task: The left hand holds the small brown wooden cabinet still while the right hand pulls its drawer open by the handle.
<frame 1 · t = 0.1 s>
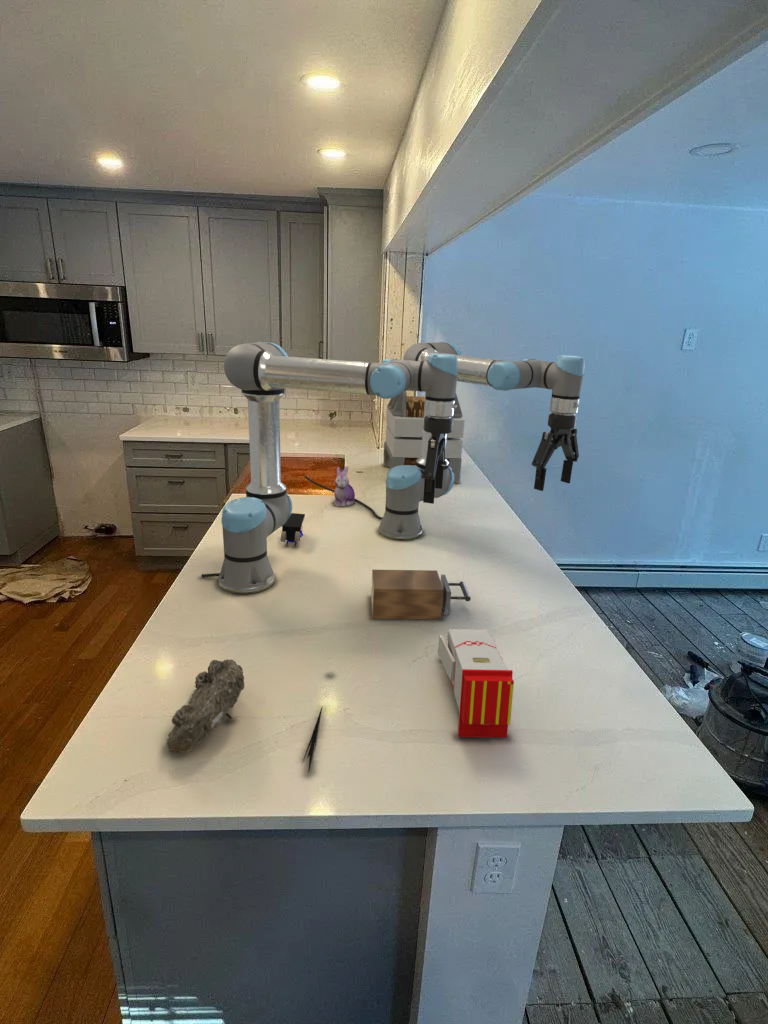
left hand: (433, 495, 152), 28 cm above the counter, tool pointing down, fingers open, 13 cm apart
right hand: (552, 485, 166), 28 cm above the counter, tool pointing down, fingers open, 13 cm apart
drawer: (426, 594, 149), point 4 cm above the counter, slide at 1.0 cm
fossil: (212, 717, 108), on the counter
figurine: (344, 503, 228), on the counter
toy: (469, 691, 119), on the counter
feather: (319, 719, 109), on the counter
cabinet: (404, 608, 151), on the counter
transformer: (419, 473, 275), on the counter
figurine character: (293, 540, 190), on the counter
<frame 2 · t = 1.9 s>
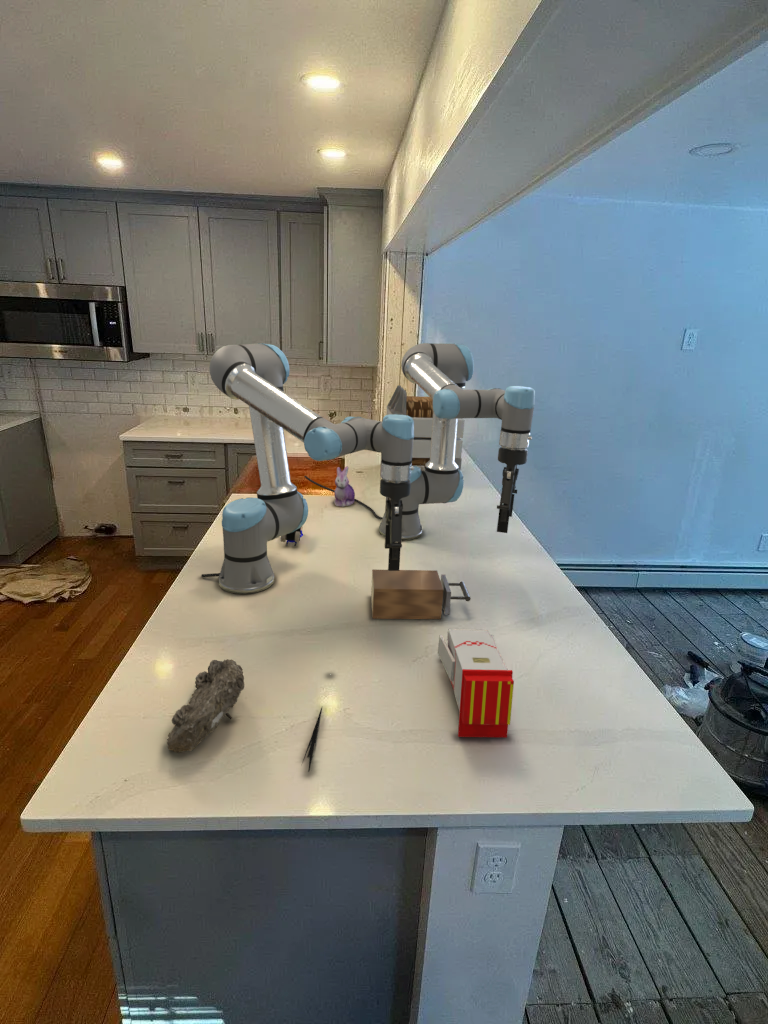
left hand: (391, 558, 145), 14 cm above the counter, tool pointing down, fingers open, 13 cm apart
right hand: (504, 523, 155), 21 cm above the counter, tool pointing down, fingers open, 13 cm apart
nothing on the counter moved.
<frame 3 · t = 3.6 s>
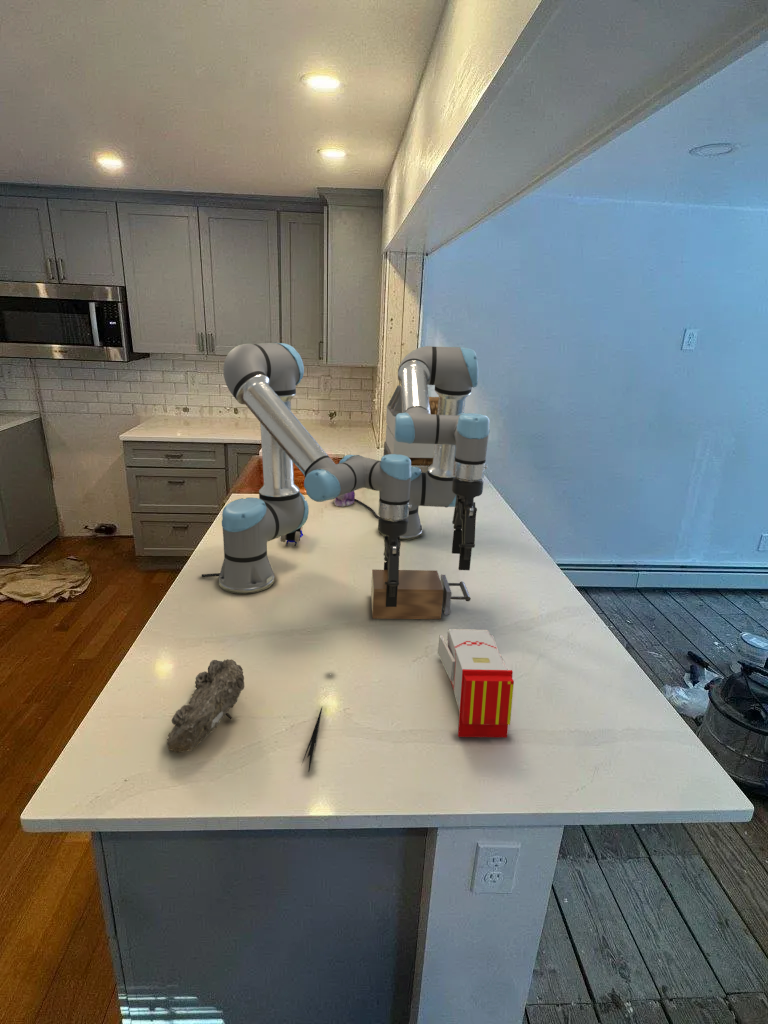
left hand: (389, 594, 149), 4 cm above the counter, tool pointing down, fingers closed on cabinet, 11 cm apart
right hand: (460, 561, 147), 14 cm above the counter, tool pointing down, fingers open, 9 cm apart
cabinet: (404, 608, 151), on the counter, touching left hand
everything else where it was.
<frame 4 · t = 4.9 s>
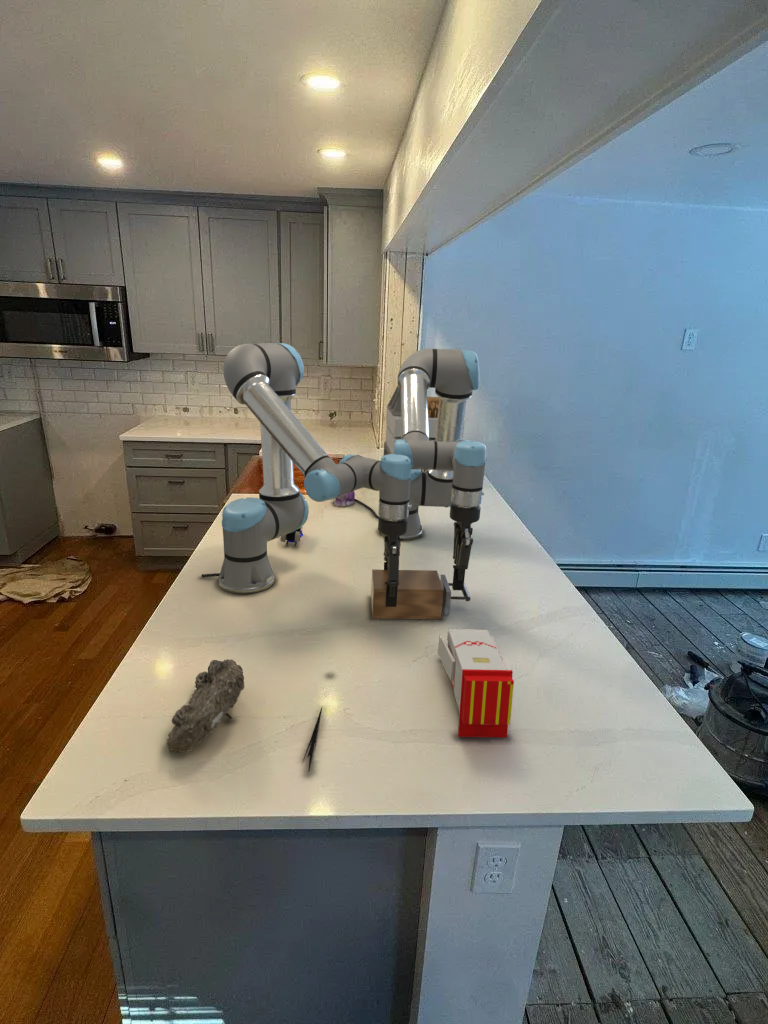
left hand: (389, 594, 149), 4 cm above the counter, tool pointing down, fingers closed on cabinet, 11 cm apart
right hand: (457, 589, 149), 6 cm above the counter, tool pointing down, fingers closed
drawer: (426, 594, 149), point 4 cm above the counter, slide at 1.0 cm, touching right hand
cabinet: (404, 608, 151), on the counter, touching left hand
everything else where it was.
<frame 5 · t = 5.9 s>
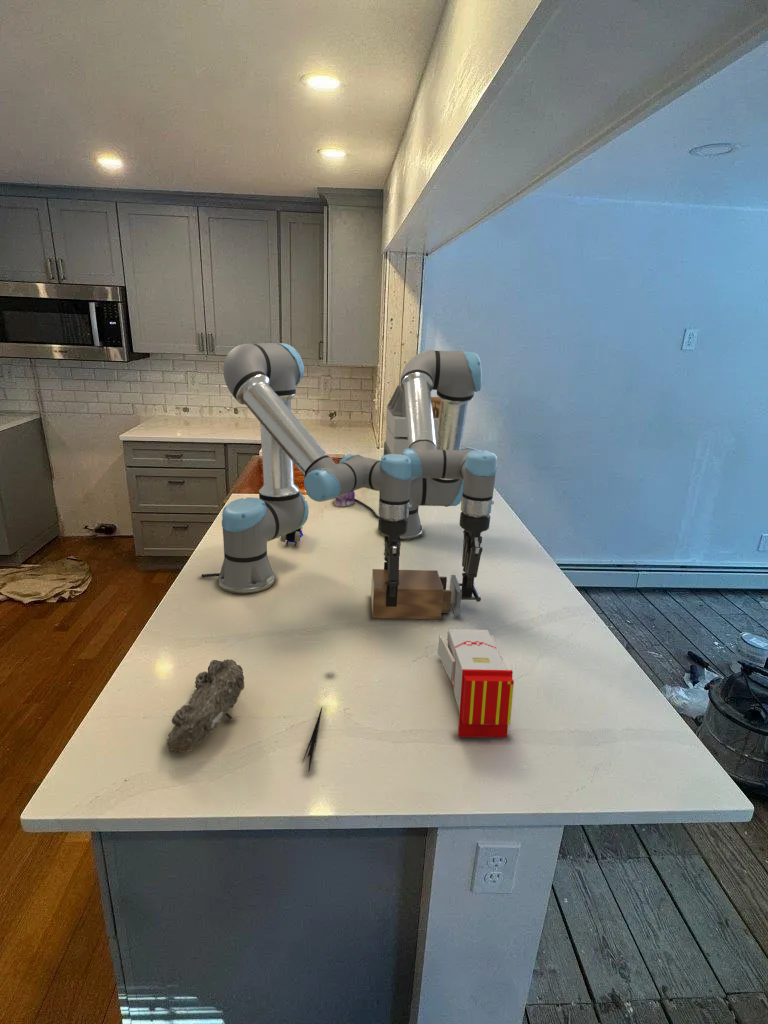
left hand: (389, 594, 149), 4 cm above the counter, tool pointing down, fingers closed on cabinet, 11 cm apart
right hand: (466, 596, 150), 4 cm above the counter, tool pointing down, fingers closed
drawer: (436, 594, 150), point 4 cm above the counter, slide at 3.7 cm, touching right hand
cabinet: (404, 607, 151), on the counter, touching left hand
everything else where it was.
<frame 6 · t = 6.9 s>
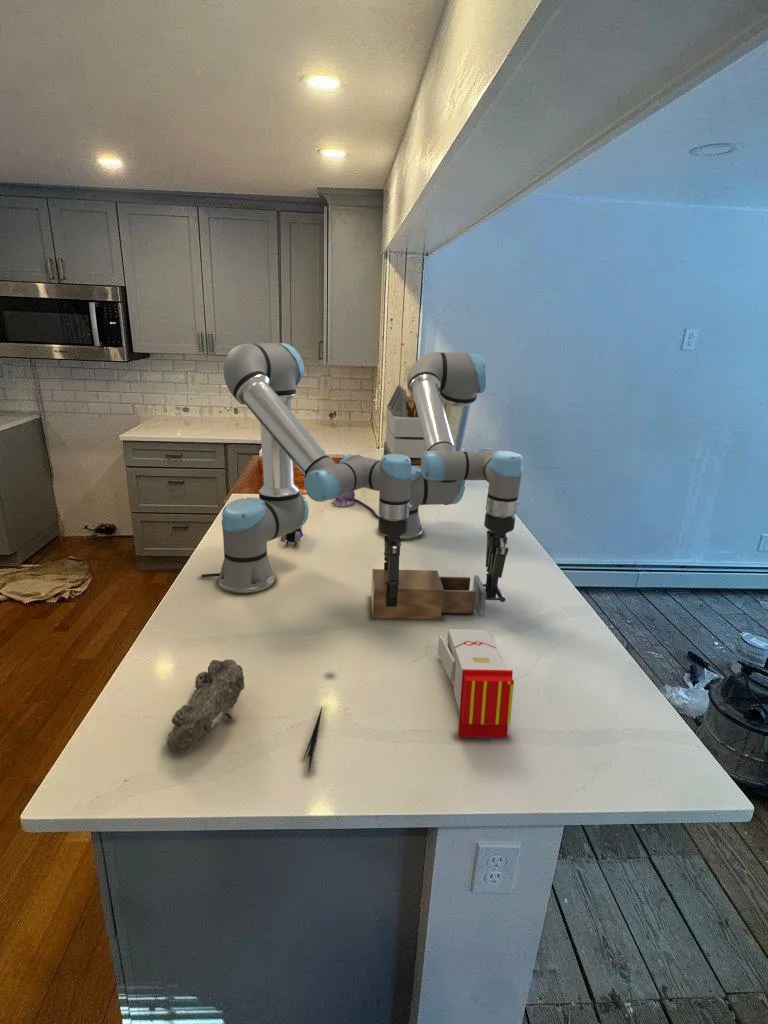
left hand: (389, 594, 149), 4 cm above the counter, tool pointing down, fingers closed on cabinet, 11 cm apart
right hand: (490, 596, 151), 4 cm above the counter, tool pointing down, fingers closed
drawer: (460, 594, 150), point 4 cm above the counter, slide at 10.1 cm, touching right hand
cabinet: (404, 608, 151), on the counter, touching left hand
everything else where it was.
when the left hand's fingers open (4 cm above the counter, at t = 8.6 s): cabinet stays where it is, on the counter.
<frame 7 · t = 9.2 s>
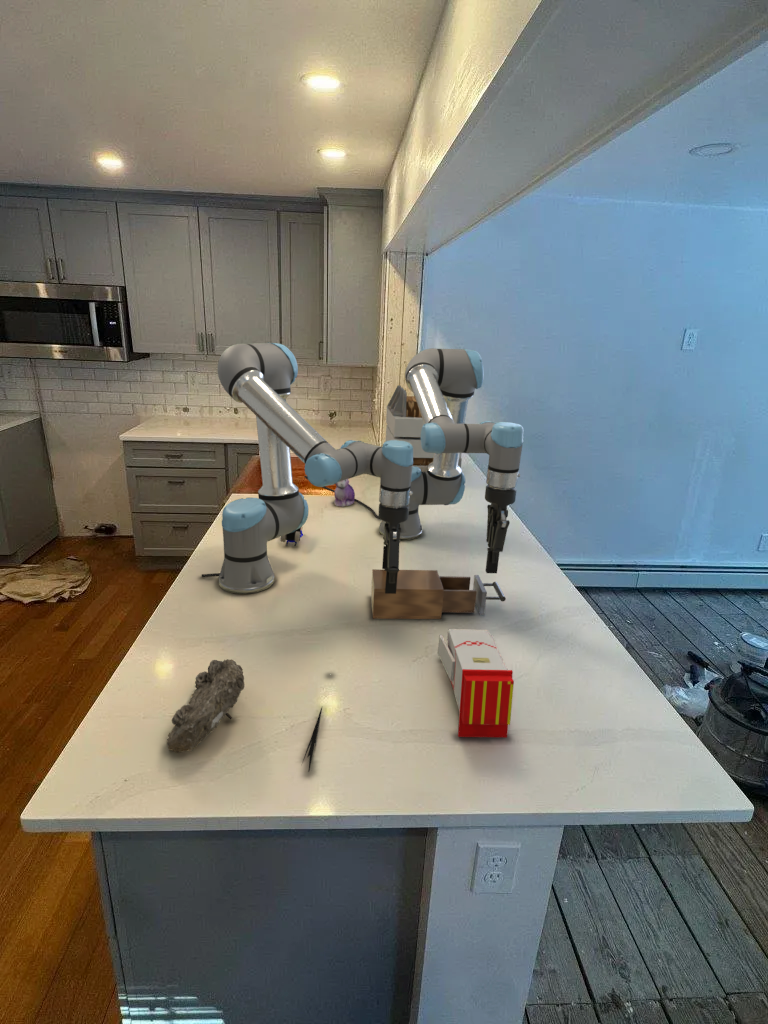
left hand: (388, 580, 148), 8 cm above the counter, tool pointing down, fingers open, 13 cm apart
right hand: (491, 572, 148), 11 cm above the counter, tool pointing down, fingers closed
drawer: (460, 594, 150), point 4 cm above the counter, slide at 10.2 cm
cabinet: (405, 608, 151), on the counter
everything else where it was.
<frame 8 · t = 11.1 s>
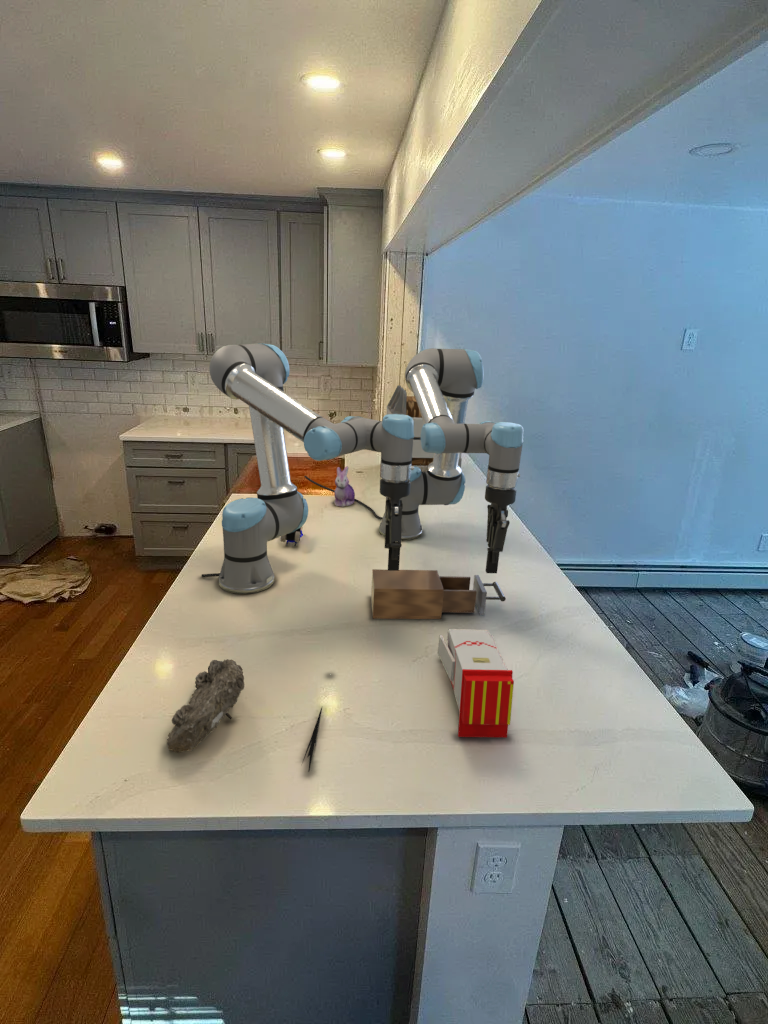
left hand: (391, 558, 145), 14 cm above the counter, tool pointing down, fingers open, 13 cm apart
right hand: (491, 572, 148), 11 cm above the counter, tool pointing down, fingers closed
nothing on the counter moved.
at the end: drawer slide at 10.2 cm; cabinet tilted 0°; cabinet never tilted more than 1° during the clip; cabinet moved 0.1 cm from its start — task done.
